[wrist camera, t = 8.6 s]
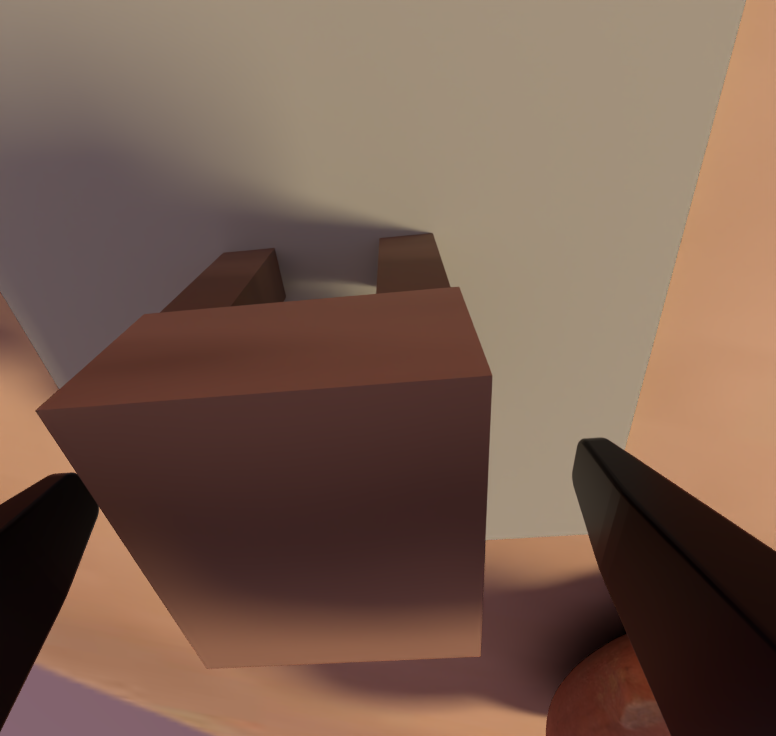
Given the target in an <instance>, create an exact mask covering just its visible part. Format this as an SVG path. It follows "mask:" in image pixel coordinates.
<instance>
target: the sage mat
mask: <svg viewBox="0 0 776 736" xmlns="http://www.w3.org/2000/svg"><path fill="white" fill-rule="evenodd" d="M745 2H746V0H0V292H1V294H2V295H3V297H4V299H5V300H6V302H7V304H8V305H9V307H10V309H11V310H12V312H13V314H14V315H15V317H16V318H17V320H18V322H19V323H20V325H21V327H22V328H23V330H24V332H25V333H26V335H27V337H28V338H29V340H30V342H31V343H32V345H33V347H34V348H35V350H36V352H37V353H38V355H39V357H40V358H41V360H42V362H43V363H44V365H45V367H46V368H47V370H48V372H49V373H50V375H51V376H52V378H53V380H54V381H55V383H56V385H57V386H58V388H59V389H60V388H61V387H62V386H64V385H65V384H66V383H67V382H68V381H69V380H70V379H72V378H73V377H74V376H75V375H76V374H77V373H78V372H79V371H81V370H82V369H83V368H84V367H85V366H86V365H87V364H88V363H90V362H91V361H92V360H93V359H94V358H95V357H96V356H97V355H99V354H100V353H101V352H102V351H103V350H104V349H105V348H106V347H108V346H109V345H110V344H111V343H112V342H113V341H114V340H115V339H117V338H118V337H119V336H120V335H121V334H122V333H123V332H124V331H126V330H127V329H128V328H129V327H130V326H131V325H132V324H133V323H135V322H136V321H137V320H138V319H139V318H140V317H141V316H142V315H144V314H151V313H160V312H161V311H162V310H163V309H164V308H165V307H166V306H167V305H168V304H169V303H170V302H171V301H172V300H173V299H175V298H176V297H177V296H178V295H179V294H180V293H181V292H182V291H183V290H184V289H185V288H186V287H187V286H188V285H189V284H190V283H192V282H193V281H194V280H195V279H196V278H197V277H198V276H199V275H200V274H201V273H202V272H203V271H204V270H205V269H206V268H207V267H209V266H210V265H211V264H212V263H213V262H214V261H215V260H216V259H217V258H218V257H219V256H220V255H221V254H222V253H225V252H236V251H246V250H257V249H268V248H275V251H276V256H277V260H278V264H279V269H280V273H281V277H282V281H283V286H284V290H285V294H286V298H285V300H284V302H288V301H300V300H311V299H323V298H334V297H345V296H357V295H368V294H376V287H377V270H378V254H379V238H385V237H396V236H406V235H417V234H428V233H433V235H434V238H435V241H436V244H437V247H438V250H439V253H440V256H441V259H442V262H443V265H444V268H445V271H446V274H447V277H448V280H449V284H450V287H460V290H461V293H462V295H463V298H464V301H465V303H466V306H467V309H468V311H469V314H470V317H471V319H472V322H473V325H474V327H475V330H476V333H477V335H478V338H479V341H480V343H481V346H482V349H483V351H484V354H485V357H486V359H487V362H488V365H489V367H490V370H491V373H492V375H493V376H492V400H491V423H490V446H489V470H488V493H487V517H486V540H497V539H515V538H532V537H550V536H568V535H586V534H588V532H587V529H586V525H585V522H584V519H583V516H582V512H581V509H580V506H579V503H578V500H577V496H576V493H575V490H574V486H573V482H572V470H573V465H574V459H575V454H576V449H577V445H578V442H579V441H580V440H581V439H584V438H597V437H603V438H606V439H608V440H610V441H611V442H613V443H614V444H616V445H617V446H619V447H620V448H622V449H623V450H625V447H626V443H627V439H628V435H629V432H630V428H631V424H632V421H633V417H634V413H635V410H636V406H637V402H638V398H639V395H640V391H641V387H642V384H643V380H644V376H645V373H646V369H647V365H648V361H649V358H650V354H651V350H652V347H653V343H654V339H655V336H656V332H657V328H658V324H659V321H660V317H661V313H662V310H663V306H664V302H665V299H666V295H667V291H668V287H669V284H670V280H671V276H672V273H673V269H674V265H675V262H676V258H677V254H678V250H679V247H680V243H681V239H682V236H683V232H684V228H685V225H686V221H687V217H688V213H689V210H690V206H691V202H692V199H693V195H694V191H695V187H696V184H697V180H698V176H699V173H700V169H701V165H702V162H703V158H704V154H705V150H706V147H707V143H708V139H709V136H710V132H711V128H712V125H713V121H714V117H715V113H716V110H717V106H718V102H719V99H720V95H721V91H722V88H723V84H724V80H725V76H726V73H727V69H728V65H729V62H730V58H731V54H732V51H733V47H734V43H735V39H736V36H737V32H738V28H739V25H740V21H741V17H742V14H743V10H744V6H745Z"/></svg>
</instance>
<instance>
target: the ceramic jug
mask: <svg viewBox="0 0 776 736" xmlns="http://www.w3.org/2000/svg"><path fill="white" fill-rule="evenodd" d="M546 736H671V735H670V733H669V730H668V728H667V726H666V723H665V721H664V719H663V716H662V714H661V712H660V709H659V707H658V705H657V702H656V700H655V698H654V696H653V693H652V691H651V689H650V686H649V684H648V682H647V679H646V677H645V675H644V672H643V670H642V668H641V665H640V663H639V661H638V658H637V656H636V654H635V652H634V649H633V647H632V645H631V642H630V640H629V638H628V635H627V634H625V635H623V636H621V637H618V638H616V639H615V640H613V641H611V642H609V643H608V644H606V645H604V646H603V647H601V648H600V649H598V650H597V651H595V652H593V653H592V654H591V655H589V656H588V657H587V658H586V659H584V660H583V661H582V662H580V663H579V664H578V665H577V666H576V667H575V668H574V669H573V670H572V671H571V672H570V673H569V675H568V676H567V677H566V678H565V679H564V681H563V682H562V683H561V685H560V686H559V688H558V689H557V691H556V693H555V695H554V697H553V699H552V702H551V705H550V707H549V711H548V716H547V722H546Z"/></svg>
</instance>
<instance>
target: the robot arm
mask: <svg viewBox="0 0 776 736" xmlns="http://www.w3.org/2000/svg"><path fill="white" fill-rule="evenodd" d="M572 482H573V486H574V490H575V493H576V496H577V500H578V503H579V506H580V509H581V512H582V516H583V519H584V522H585V525H586V529H587V532H588V535H589V538H590V542H591V545H592V548H593V551H594V555H595V558H596V561H597V564H598V567H599V570H600V572H601V575H602V577H603V580H604V582H605V584H606V587H607V589H608V591H609V594H610V596H611V598H612V601H613V603H614V605H615V608H616V610H617V612H618V615H619V617H620V619H621V621H622V624H623V626H624V628H625V631H626V633H627V635H628V638H629V640H630V642H631V645H632V647H633V649H634V652H635V654H636V656H637V658H638V661H639V663H640V665H641V668H642V670H643V672H644V675H645V677H646V679H647V682H648V684H649V686H650V689H651V691H652V693H653V696H654V698H655V700H656V702H657V705H658V707H659V709H660V712H661V714H662V716H663V719H664V721H665V723H666V726H667V728H668V730H669V733H670V735H671V736H776V551H775V550H773V549H772V548H770V547H769V546H767V545H766V544H764V543H763V542H761V541H760V540H758V539H757V538H755V537H754V536H752V535H751V534H749V533H748V532H746V531H745V530H743V529H742V528H740V527H739V526H737V525H736V524H734V523H733V522H731V521H730V520H728V519H727V518H725V517H724V516H722V515H721V514H719V513H718V512H716V511H715V510H713V509H712V508H710V507H709V506H707V505H706V504H704V503H703V502H701V501H700V500H698V499H697V498H695V497H694V496H692V495H691V494H689V493H688V492H686V491H685V490H683V489H682V488H680V487H679V486H677V485H676V484H674V483H673V482H671V481H670V480H668V479H667V478H665V477H664V476H662V475H661V474H659V473H658V472H656V471H655V470H653V469H652V468H650V467H649V466H647V465H646V464H644V463H643V462H641V461H640V460H638V459H637V458H635V457H634V456H632V455H631V454H629V453H628V452H626V451H625V450H623V449H622V448H620V447H619V446H617V445H616V444H614V443H613V442H611V441H610V440H608V439H606V438H603V437H597V438H584V439H581V440H580V441H579V442H578V445H577V449H576V454H575V459H574V465H573V470H572ZM98 513H99V506H98V504H97V503H96V501H95V500H94V498H93V497H92V495H91V494H90V492H89V491H88V489H87V488H86V486H85V485H84V483H83V482H82V480H81V479H80V477H79V476H78V474H76V473H58V474H52V475H49V476H47V477H45V478H44V479H42V480H40V481H39V482H37V483H35V484H34V485H32V486H30V487H29V488H27V489H25V490H24V491H22V492H20V493H19V494H17V495H15V496H14V497H12V498H10V499H9V500H7V501H6V502H4V503H2V504H1V505H0V731H1V729H2V727H3V725H4V723H5V721H6V719H7V717H8V715H9V713H10V711H11V709H12V707H13V705H14V703H15V701H16V699H17V697H18V695H19V693H20V691H21V689H22V687H23V684H24V683H25V681H26V679H27V677H28V675H29V673H30V671H31V669H32V666H33V664H34V662H35V660H36V658H37V656H38V654H39V652H40V650H41V648H42V646H43V644H44V642H45V640H46V638H47V636H48V634H49V632H50V630H51V628H52V626H53V624H54V622H55V620H56V618H57V616H58V614H59V612H60V609H61V607H62V605H63V603H64V601H65V599H66V596H67V594H68V592H69V589H70V587H71V584H72V582H73V579H74V577H75V574H76V571H77V569H78V566H79V564H80V561H81V558H82V556H83V553H84V551H85V548H86V545H87V543H88V540H89V538H90V535H91V532H92V530H93V527H94V525H95V522H96V519H97V517H98Z"/></svg>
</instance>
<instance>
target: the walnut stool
mask: <svg viewBox="0 0 776 736" xmlns="http://www.w3.org/2000/svg"><path fill="white" fill-rule="evenodd" d="M285 298H286V294H285V290H284V286H283V281H282V277H281V273H280V269H279V264H278V260H277V256H276V251H275V248H268V249H257V250H246V251H236V252H225V253H222V254H221V255H220V256H219V257H218V258H217V259H216V260H215V261H214V262H213V263H212V264H211V265H210V266H209V267H207V268H206V269H205V270H204V271H203V272H202V273H201V274H200V275H199V276H198V277H197V278H196V279H195V280H194V281H193V282H192V283H190V284H189V285H188V286H187V287H186V288H185V289H184V290H183V291H182V292H181V293H180V294H179V295H178V296H177V297H176V298H175V299H173V300H172V301H171V302H170V303H169V304H168V305H167V306H166V307H165V308H164V309H163V310H162V311H161V312H160V313H151V314H144V315H142V316H141V317H140V318H139V319H138V320H137V321H136V322H135V323H133V324H132V325H131V326H130V327H129V328H128V329H127V330H126V331H124V332H123V333H122V334H121V335H120V336H119V337H118V338H117V339H115V340H114V341H113V342H112V343H111V344H110V345H109V346H108V347H106V348H105V349H104V350H103V351H102V352H101V353H100V354H99V355H97V356H96V357H95V358H94V359H93V360H92V361H91V362H90V363H88V364H87V365H86V366H85V367H84V368H83V369H82V370H81V371H79V372H78V373H77V374H76V375H75V376H74V377H73V378H72V379H70V380H69V381H68V382H67V383H66V384H65V385H64V386H62V387H61V388H60V389H59V390H58V391H57V392H56V393H55V394H53V395H52V396H51V397H50V398H49V399H48V400H47V401H46V402H44V403H43V404H42V405H41V406H40V407H39V408H38V409H37V410H35V411H36V412H37V414H38V415H39V417H40V418H41V420H42V421H43V423H44V424H45V426H46V428H47V429H48V431H49V432H50V434H51V435H52V437H53V438H54V440H55V441H56V443H57V444H58V446H59V447H60V449H61V450H62V452H63V453H64V455H65V456H66V458H67V459H68V461H69V462H70V464H71V465H72V467H73V468H74V470H75V471H76V473H77V474H78V476H79V477H80V479H81V480H82V482H83V483H84V485H85V486H86V488H87V489H88V491H89V492H90V494H91V495H92V497H93V498H94V500H95V501H96V503H97V504H98V506H99V507H100V509H101V510H102V512H103V513H104V515H105V516H106V518H107V519H108V521H109V522H110V524H111V525H112V527H113V528H114V530H115V531H116V533H117V534H118V536H119V537H120V539H121V540H122V542H123V543H124V545H125V546H126V548H127V549H128V551H129V552H130V554H131V555H132V557H133V559H134V560H135V562H136V563H137V565H138V566H139V568H140V569H141V571H142V572H143V574H144V575H145V577H146V578H147V580H148V581H149V583H150V584H151V586H152V587H153V589H154V590H155V592H156V593H157V595H158V596H159V598H160V599H161V601H162V602H163V604H164V605H165V607H166V608H167V610H168V611H169V613H170V614H171V616H172V617H173V619H174V620H175V622H176V623H177V625H178V626H179V628H180V629H181V631H182V632H183V634H184V635H185V637H186V638H187V640H188V641H189V643H190V644H191V646H192V647H193V649H194V650H195V652H196V653H197V655H198V656H199V658H200V659H201V661H202V662H203V664H204V665H205V667H206V668H207V669H215V668H237V667H259V666H282V665H304V664H326V663H348V662H371V661H393V660H415V659H437V658H460V657H481V634H482V610H483V587H484V563H485V540H486V517H487V493H488V470H489V446H490V423H491V400H492V376H493V375H492V373H491V370H490V367H489V365H488V362H487V359H486V357H485V354H484V351H483V349H482V346H481V343H480V341H479V338H478V335H477V333H476V330H475V327H474V325H473V322H472V319H471V317H470V314H469V311H468V309H467V306H466V303H465V301H464V298H463V295H462V293H461V290H460V287H450V284H449V280H448V277H447V274H446V271H445V268H444V265H443V262H442V259H441V256H440V253H439V250H438V247H437V244H436V241H435V238H434V235H433V233H428V234H417V235H406V236H396V237H385V238H379V254H378V270H377V287H376V294H368V295H357V296H345V297H334V298H323V299H311V300H300V301H288V302H284V300H285Z"/></svg>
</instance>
